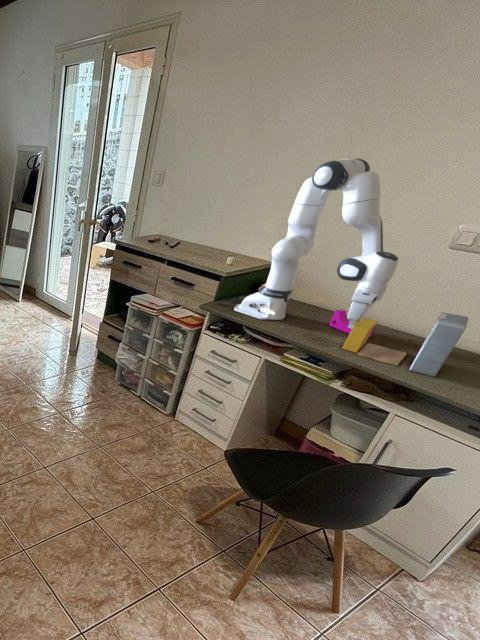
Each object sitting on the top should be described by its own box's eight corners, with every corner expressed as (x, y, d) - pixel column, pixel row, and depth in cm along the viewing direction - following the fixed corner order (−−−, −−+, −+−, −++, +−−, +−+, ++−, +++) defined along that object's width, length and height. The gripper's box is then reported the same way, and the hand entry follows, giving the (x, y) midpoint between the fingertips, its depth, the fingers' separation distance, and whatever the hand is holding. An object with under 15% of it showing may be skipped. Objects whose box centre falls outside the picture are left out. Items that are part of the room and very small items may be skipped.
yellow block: (341, 348, 180) (354, 325, 174) (350, 340, 186) (362, 317, 180) (356, 352, 177) (369, 329, 171) (364, 344, 183) (377, 321, 177)
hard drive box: (414, 357, 172) (441, 311, 162) (440, 363, 167) (470, 317, 157) (408, 370, 163) (436, 323, 153) (435, 377, 158) (466, 329, 148)
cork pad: (356, 354, 175) (356, 354, 175) (367, 343, 184) (367, 342, 184) (397, 365, 167) (397, 365, 166) (406, 353, 175) (407, 353, 175)
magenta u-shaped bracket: (371, 336, 190) (379, 321, 186) (360, 338, 188) (367, 322, 185) (339, 323, 202) (346, 309, 198) (328, 325, 201) (335, 310, 197)
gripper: (366, 286, 179) (352, 316, 186) (351, 297, 169) (337, 328, 176) (385, 289, 175) (370, 320, 182) (371, 301, 164) (355, 333, 172)
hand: (353, 324), depth 179 cm, fingers open, 8 cm apart
